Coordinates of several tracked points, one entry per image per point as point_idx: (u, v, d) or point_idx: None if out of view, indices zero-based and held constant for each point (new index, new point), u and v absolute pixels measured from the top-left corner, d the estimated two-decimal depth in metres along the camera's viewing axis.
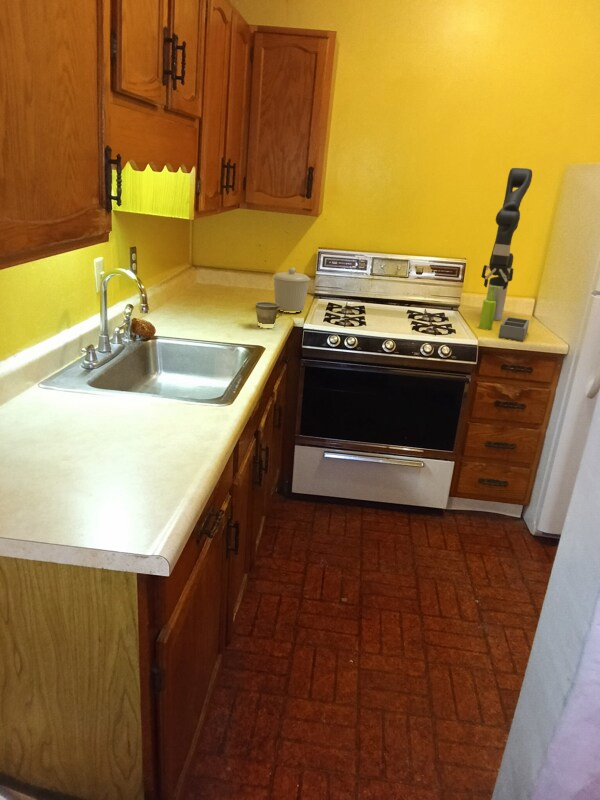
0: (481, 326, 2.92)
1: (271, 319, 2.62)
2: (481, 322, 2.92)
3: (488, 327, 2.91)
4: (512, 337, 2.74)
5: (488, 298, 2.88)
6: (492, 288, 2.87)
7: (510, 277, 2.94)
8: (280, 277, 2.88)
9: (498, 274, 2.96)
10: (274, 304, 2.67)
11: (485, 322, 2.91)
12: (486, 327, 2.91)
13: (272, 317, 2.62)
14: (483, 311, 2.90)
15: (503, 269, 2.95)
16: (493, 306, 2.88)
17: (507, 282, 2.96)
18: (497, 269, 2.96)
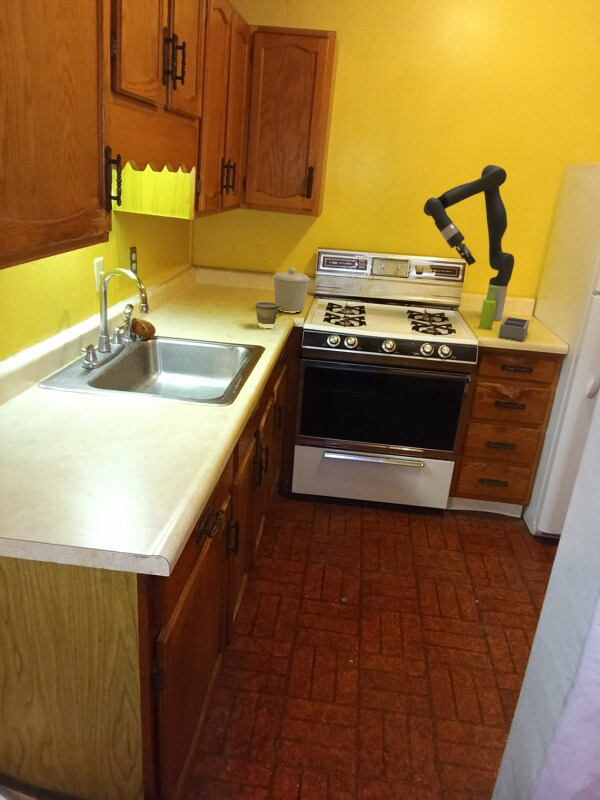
0: (481, 326, 2.92)
1: (271, 319, 2.62)
2: (481, 322, 2.92)
3: (488, 327, 2.91)
4: (512, 337, 2.74)
5: (488, 298, 2.88)
6: (492, 288, 2.87)
7: None
8: (280, 277, 2.88)
9: None
10: (274, 304, 2.67)
11: (485, 322, 2.91)
12: (486, 327, 2.91)
13: (272, 317, 2.62)
14: (483, 311, 2.90)
15: None
16: (493, 306, 2.88)
17: (466, 258, 2.83)
18: None
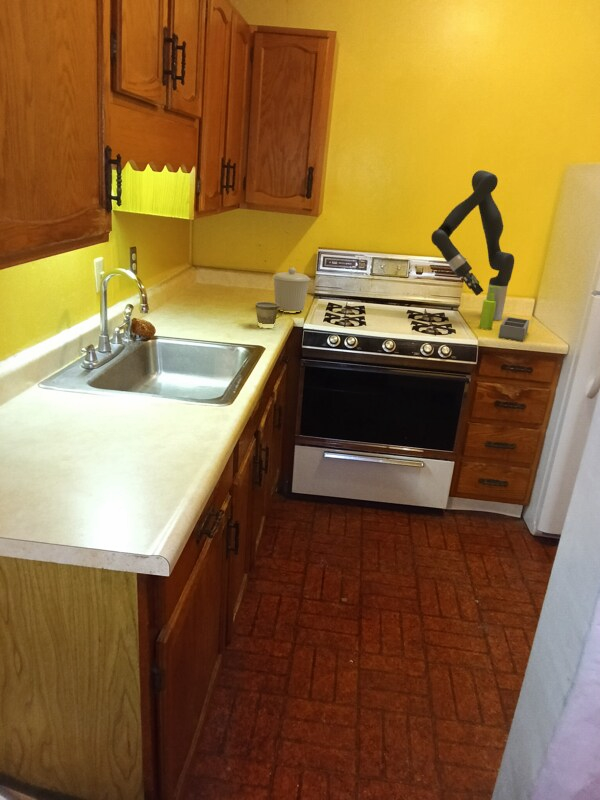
0: (481, 326, 2.92)
1: (271, 319, 2.62)
2: (481, 322, 2.92)
3: (488, 327, 2.91)
4: (512, 337, 2.74)
5: (488, 298, 2.88)
6: (492, 288, 2.87)
7: None
8: (280, 277, 2.88)
9: None
10: (274, 304, 2.67)
11: (485, 322, 2.91)
12: (486, 327, 2.91)
13: (272, 317, 2.62)
14: (483, 311, 2.90)
15: None
16: (493, 306, 2.88)
17: (473, 288, 2.86)
18: None
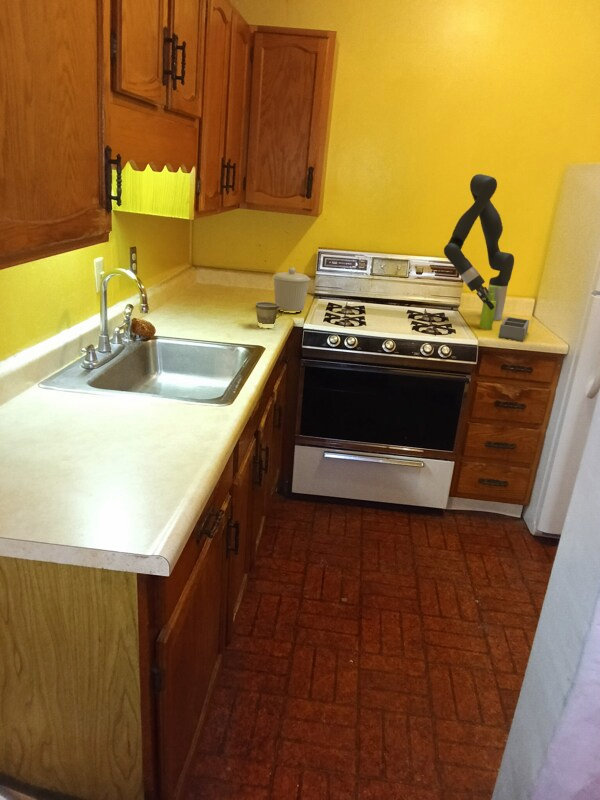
0: (481, 326, 2.92)
1: (271, 319, 2.62)
2: (481, 322, 2.92)
3: (488, 327, 2.91)
4: (512, 337, 2.74)
5: None
6: (492, 288, 2.87)
7: None
8: (280, 277, 2.88)
9: None
10: (274, 304, 2.67)
11: (485, 322, 2.91)
12: (486, 327, 2.91)
13: (272, 317, 2.62)
14: (483, 311, 2.90)
15: None
16: None
17: (487, 303, 2.86)
18: None
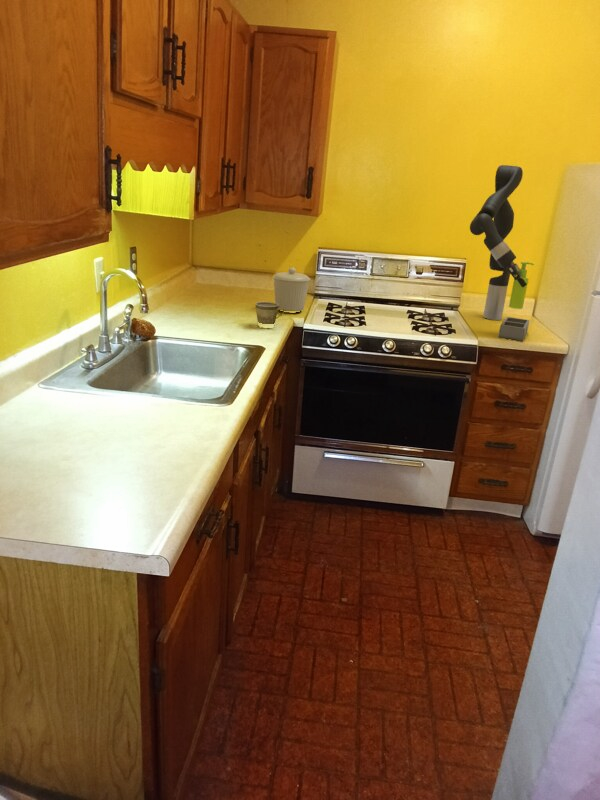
0: (511, 305, 2.73)
1: (271, 319, 2.62)
2: (511, 301, 2.73)
3: (519, 306, 2.72)
4: (512, 337, 2.74)
5: None
6: (524, 264, 2.68)
7: None
8: (280, 277, 2.88)
9: None
10: (274, 304, 2.67)
11: (515, 301, 2.72)
12: (517, 306, 2.72)
13: (272, 317, 2.62)
14: (514, 289, 2.71)
15: None
16: None
17: (519, 280, 2.67)
18: None
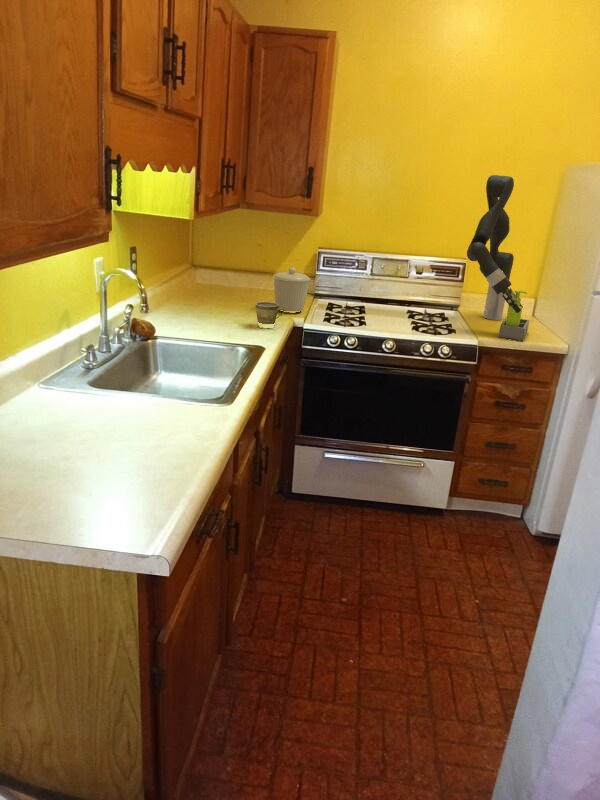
0: None
1: (271, 319, 2.62)
2: None
3: None
4: (512, 337, 2.74)
5: None
6: (518, 293, 2.73)
7: None
8: (280, 277, 2.88)
9: None
10: (274, 304, 2.67)
11: None
12: None
13: (272, 317, 2.62)
14: (508, 317, 2.76)
15: None
16: (519, 312, 2.74)
17: (513, 306, 2.71)
18: None
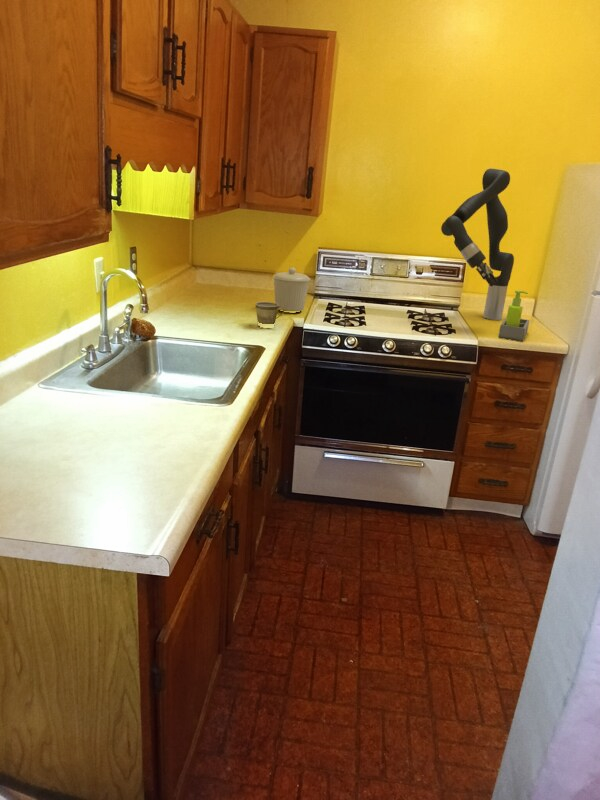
0: None
1: (271, 319, 2.62)
2: None
3: None
4: (512, 337, 2.74)
5: (514, 303, 2.74)
6: (518, 293, 2.72)
7: None
8: (280, 277, 2.88)
9: None
10: (274, 304, 2.67)
11: None
12: None
13: (272, 317, 2.62)
14: (508, 317, 2.76)
15: None
16: (519, 312, 2.73)
17: (487, 279, 2.72)
18: None
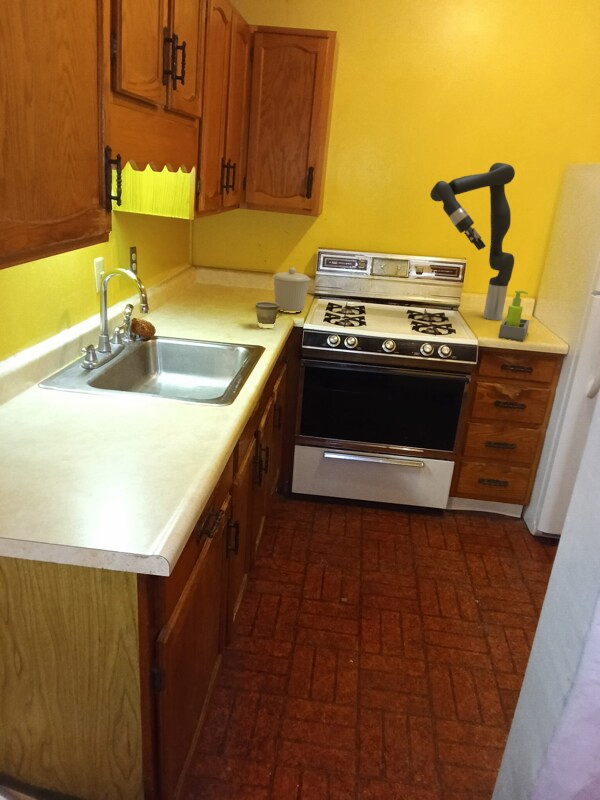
0: None
1: (271, 319, 2.62)
2: None
3: None
4: (512, 337, 2.74)
5: (514, 303, 2.74)
6: (518, 293, 2.72)
7: None
8: (280, 277, 2.88)
9: None
10: (274, 304, 2.67)
11: None
12: None
13: (272, 317, 2.62)
14: (508, 317, 2.76)
15: None
16: (519, 312, 2.73)
17: (475, 243, 2.78)
18: None
